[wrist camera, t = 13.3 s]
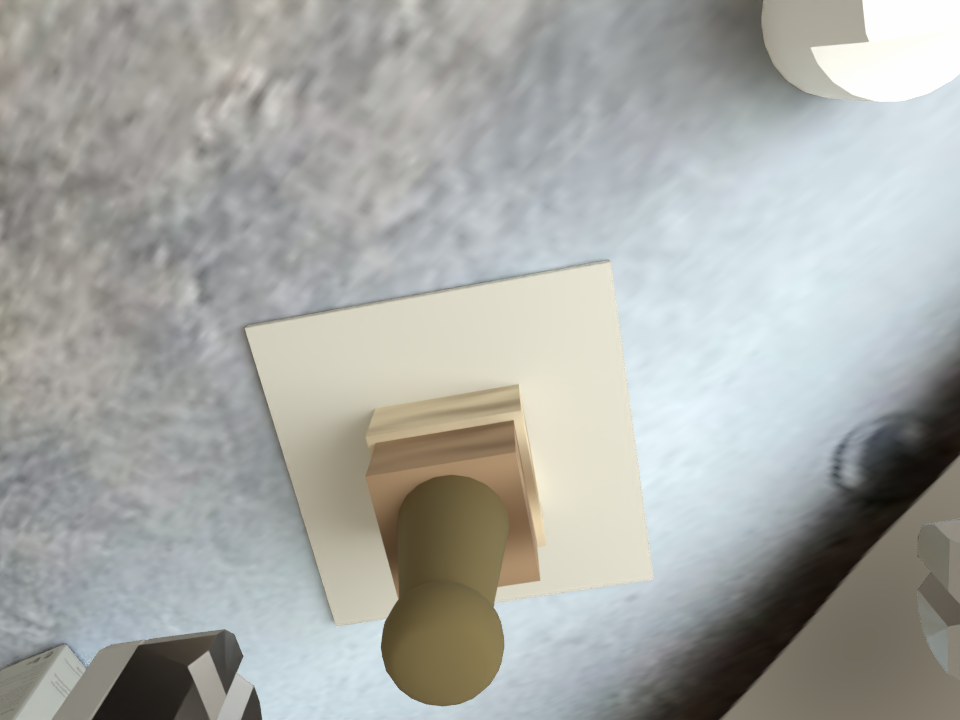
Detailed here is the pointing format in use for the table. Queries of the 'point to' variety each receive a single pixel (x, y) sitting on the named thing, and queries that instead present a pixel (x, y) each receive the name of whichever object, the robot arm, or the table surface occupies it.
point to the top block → (464, 454)
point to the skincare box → (38, 684)
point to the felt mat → (451, 371)
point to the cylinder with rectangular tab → (864, 46)
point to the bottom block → (458, 416)
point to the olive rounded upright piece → (447, 591)
